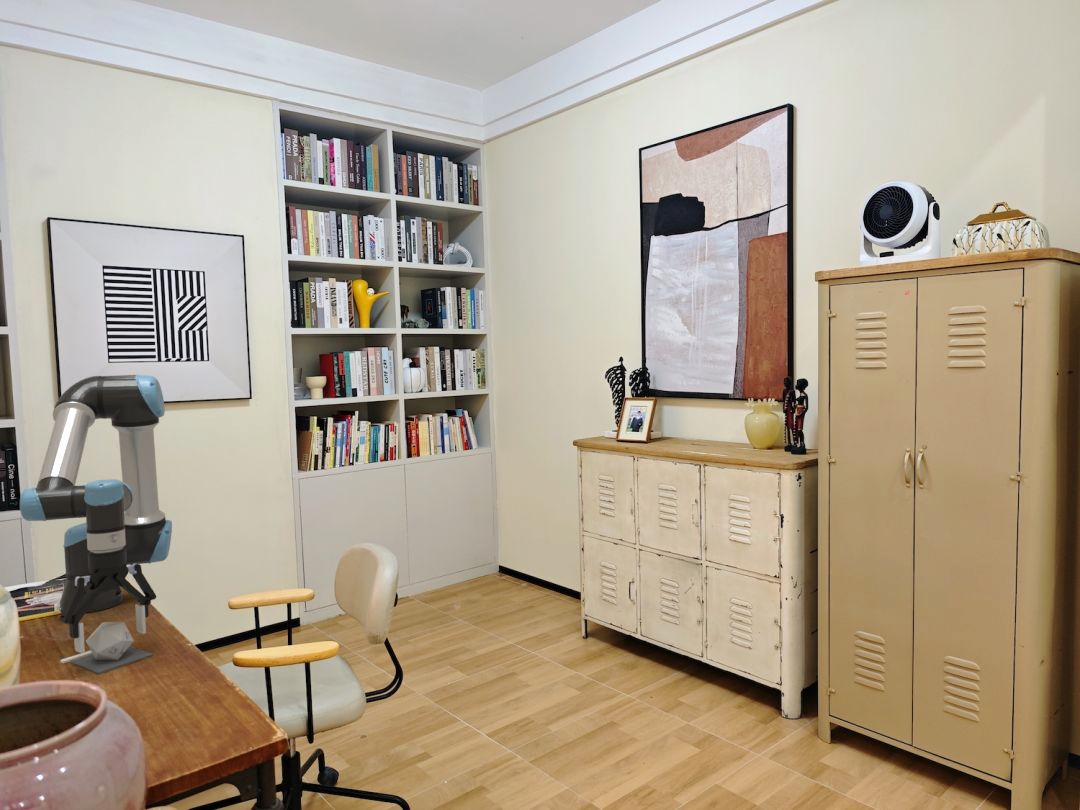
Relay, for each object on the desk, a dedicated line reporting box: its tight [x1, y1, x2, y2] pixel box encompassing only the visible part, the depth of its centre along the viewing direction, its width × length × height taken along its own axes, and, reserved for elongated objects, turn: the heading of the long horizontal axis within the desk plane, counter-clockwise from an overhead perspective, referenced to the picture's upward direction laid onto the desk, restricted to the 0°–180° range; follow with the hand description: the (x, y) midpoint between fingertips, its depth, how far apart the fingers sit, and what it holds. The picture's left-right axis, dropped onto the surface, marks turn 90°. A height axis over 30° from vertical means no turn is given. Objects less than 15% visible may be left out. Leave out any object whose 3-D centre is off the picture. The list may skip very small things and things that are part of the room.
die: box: [85, 621, 135, 660], centre depth 170 cm, size 8×9×10 cm
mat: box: [59, 645, 154, 675], centre depth 171 cm, size 14×15×1 cm
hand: (111, 641), depth 170 cm, fingers open, 13 cm apart
